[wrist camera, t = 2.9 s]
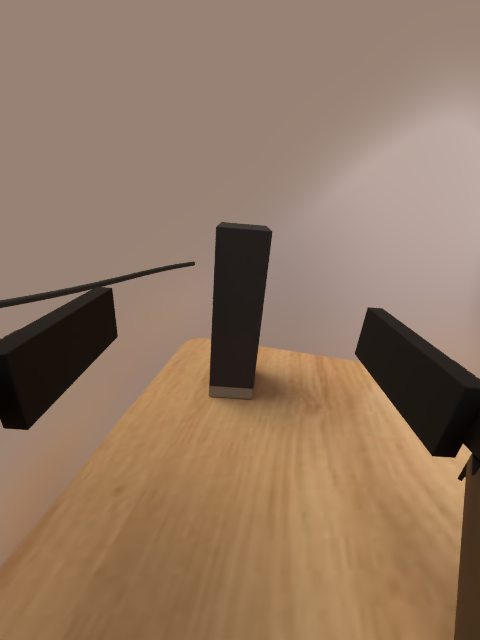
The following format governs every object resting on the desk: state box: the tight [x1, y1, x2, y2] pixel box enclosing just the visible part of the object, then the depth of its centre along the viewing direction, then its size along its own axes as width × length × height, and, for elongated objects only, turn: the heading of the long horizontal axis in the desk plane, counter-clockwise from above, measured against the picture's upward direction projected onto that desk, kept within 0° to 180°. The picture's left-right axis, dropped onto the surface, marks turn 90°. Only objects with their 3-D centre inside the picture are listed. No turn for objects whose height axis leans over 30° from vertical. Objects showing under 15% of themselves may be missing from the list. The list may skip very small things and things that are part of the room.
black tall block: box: [209, 222, 272, 399], centre depth 24 cm, size 5×4×15 cm
